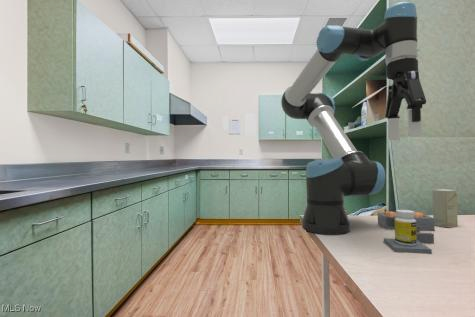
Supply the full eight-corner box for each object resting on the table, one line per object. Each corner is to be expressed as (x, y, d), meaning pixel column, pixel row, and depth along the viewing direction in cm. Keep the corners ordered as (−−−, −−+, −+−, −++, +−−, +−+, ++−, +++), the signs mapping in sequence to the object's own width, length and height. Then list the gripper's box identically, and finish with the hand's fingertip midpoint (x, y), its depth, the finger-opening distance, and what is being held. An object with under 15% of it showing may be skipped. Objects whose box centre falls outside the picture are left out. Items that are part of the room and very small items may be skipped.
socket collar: (434, 243, 69) (433, 234, 69) (414, 242, 70) (413, 233, 70) (417, 233, 78) (417, 225, 78) (399, 233, 79) (399, 225, 79)
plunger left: (387, 225, 86) (387, 213, 86) (384, 222, 89) (384, 211, 89) (398, 225, 85) (398, 213, 85) (394, 223, 88) (394, 211, 88)
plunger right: (414, 226, 84) (414, 213, 84) (410, 223, 87) (409, 211, 87) (425, 226, 83) (425, 214, 83) (420, 224, 86) (420, 212, 86)
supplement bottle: (415, 247, 63) (414, 213, 63) (393, 243, 66) (392, 211, 66) (418, 242, 66) (417, 210, 67) (397, 239, 70) (396, 208, 70)
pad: (394, 251, 63) (394, 247, 63) (383, 241, 71) (383, 238, 71) (431, 253, 61) (431, 249, 61) (416, 243, 69) (416, 239, 69)
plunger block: (385, 229, 84) (385, 217, 84) (377, 223, 91) (377, 212, 91) (434, 230, 81) (434, 218, 81) (422, 224, 88) (421, 213, 88)
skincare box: (447, 228, 84) (446, 190, 84) (432, 225, 88) (431, 189, 88) (458, 225, 86) (457, 189, 86) (443, 223, 90) (442, 188, 90)
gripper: (442, 39, 58) (445, 132, 58) (398, 75, 83) (400, 140, 82) (405, 43, 60) (408, 133, 60) (373, 77, 84) (374, 141, 84)
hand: (403, 138), depth 71 cm, fingers open, 13 cm apart
